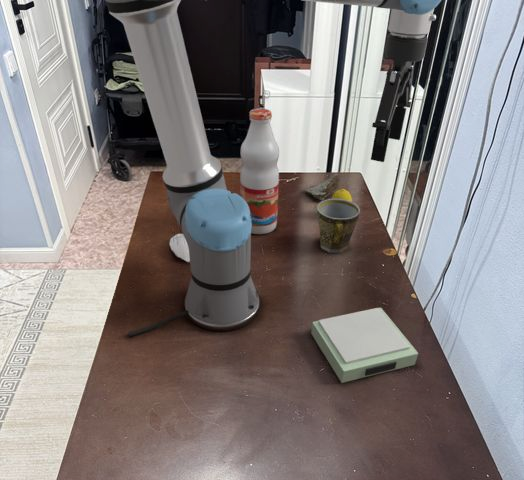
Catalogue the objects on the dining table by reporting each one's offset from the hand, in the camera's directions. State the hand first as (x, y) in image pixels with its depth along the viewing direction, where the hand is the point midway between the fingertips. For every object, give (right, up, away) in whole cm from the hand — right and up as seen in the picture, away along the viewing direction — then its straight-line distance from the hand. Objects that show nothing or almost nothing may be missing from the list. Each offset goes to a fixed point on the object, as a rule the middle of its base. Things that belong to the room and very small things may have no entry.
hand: (385, 149), depth 106 cm
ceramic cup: (-9, -19, +14) cm, 25 cm away
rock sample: (-10, 0, +35) cm, 36 cm away
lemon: (-6, -8, +26) cm, 28 cm away
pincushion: (-46, -20, +12) cm, 51 cm away
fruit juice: (-28, -11, +22) cm, 37 cm away
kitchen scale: (-8, -43, -12) cm, 45 cm away
